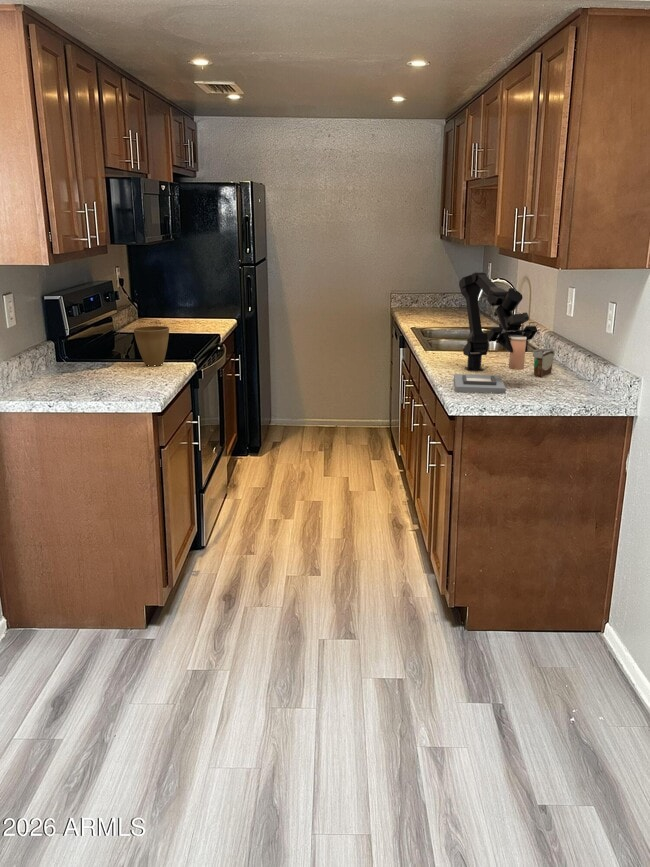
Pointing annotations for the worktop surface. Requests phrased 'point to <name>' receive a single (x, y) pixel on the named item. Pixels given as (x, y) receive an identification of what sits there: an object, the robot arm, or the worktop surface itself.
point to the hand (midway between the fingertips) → (519, 351)
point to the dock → (479, 383)
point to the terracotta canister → (517, 352)
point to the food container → (543, 362)
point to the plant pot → (152, 343)
